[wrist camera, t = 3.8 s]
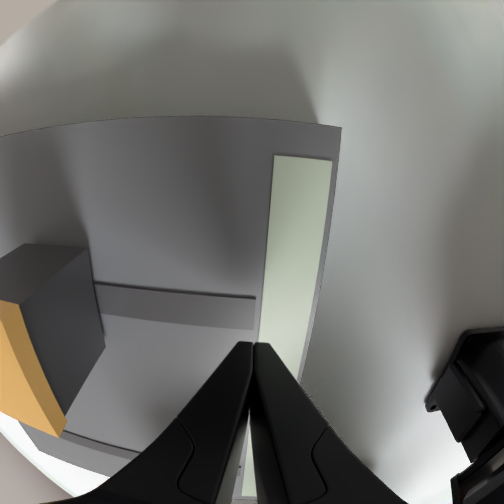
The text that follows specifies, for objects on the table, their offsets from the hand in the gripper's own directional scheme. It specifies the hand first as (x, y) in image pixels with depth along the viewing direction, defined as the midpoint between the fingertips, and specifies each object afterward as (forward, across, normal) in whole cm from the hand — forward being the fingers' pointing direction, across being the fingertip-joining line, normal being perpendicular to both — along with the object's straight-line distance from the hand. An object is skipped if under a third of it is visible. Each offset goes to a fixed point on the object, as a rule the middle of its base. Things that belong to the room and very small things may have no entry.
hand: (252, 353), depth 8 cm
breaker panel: (+5, +7, +5) cm, 10 cm away
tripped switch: (+2, +7, 0) cm, 7 cm away
